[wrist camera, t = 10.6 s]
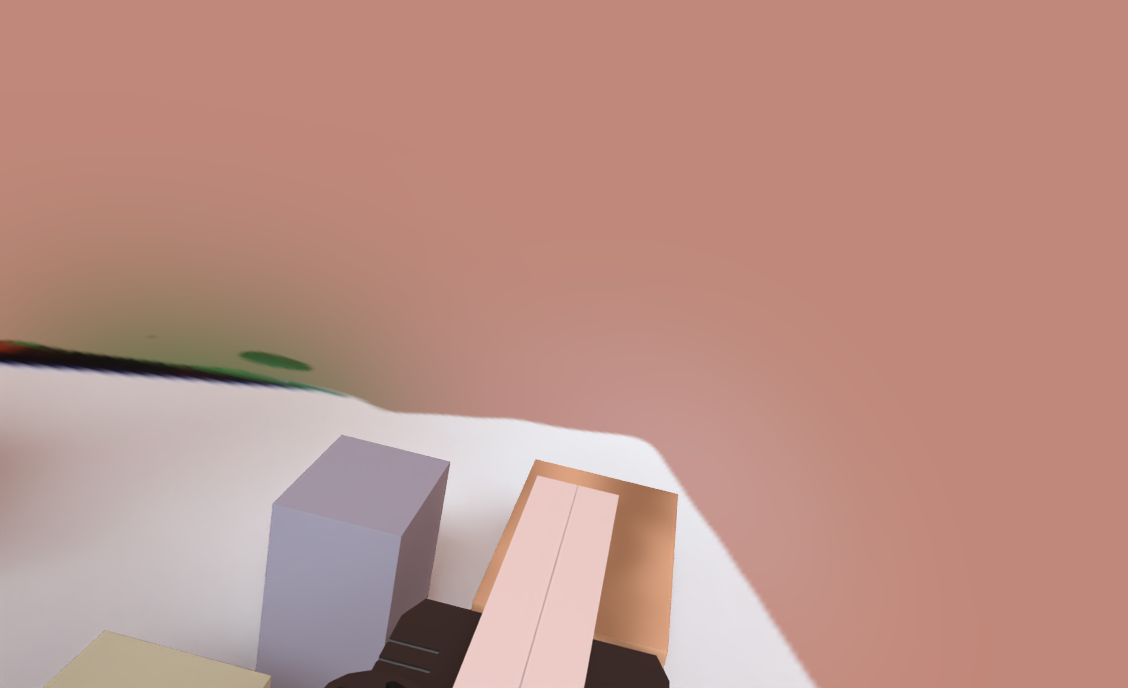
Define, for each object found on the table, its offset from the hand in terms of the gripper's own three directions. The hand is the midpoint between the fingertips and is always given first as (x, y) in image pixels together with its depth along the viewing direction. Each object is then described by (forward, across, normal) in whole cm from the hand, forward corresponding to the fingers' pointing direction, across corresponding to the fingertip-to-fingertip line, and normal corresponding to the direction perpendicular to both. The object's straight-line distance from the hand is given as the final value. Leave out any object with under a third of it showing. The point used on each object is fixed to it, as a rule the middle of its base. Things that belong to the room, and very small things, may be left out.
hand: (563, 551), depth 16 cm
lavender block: (+24, -11, -25) cm, 36 cm away
